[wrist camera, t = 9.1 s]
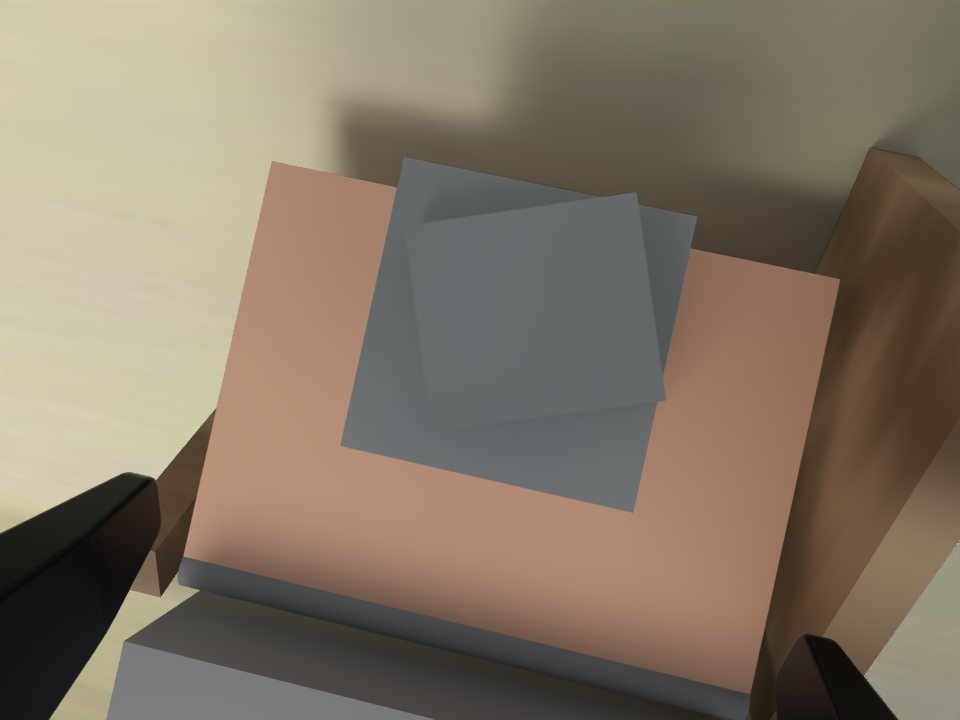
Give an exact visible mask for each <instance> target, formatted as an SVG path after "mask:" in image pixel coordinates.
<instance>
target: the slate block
mask: <svg viewBox="0 0 960 720" xmlns="http://www.w3.org/2000/svg"><path fill="white" fill-rule="evenodd" d="M697 217H698V216H694V215H689V214H684V213H679V212H674V211H669V210H664V209H659V208H655V207H650V206H645V205H640V204H638V197H637V192H633V193H626V194H619V195H612V196H605V197H600V196H595V195H590V194H585V193H581V192H576V191H571V190H566V189H561V188H556V187H551V186H546V185H541V184H536V183H531V182H526V181H521V180H516V179H511V178H507V177H502V176H497V175H492V174H487V173H482V172H477V171H472V170H467V169H462V168H457V167H452V166H447V165H442V164H437V163H433V162H428V161H423V160H418V159H413V158H408V157H404V158H403V163H402V167H401V172H400V177H399V181H398V186H397V190H396V195H395V199H394V204H393V208H392V213H391V217H390V222H389V226H388V231H387V235H386V240H385V245H384V249H383V254H382V258H381V263H380V267H379V272H378V276H377V281H376V285H375V290H374V294H373V299H372V303H371V308H370V312H369V317H368V322H367V326H366V331H365V335H364V340H363V344H362V349H361V353H360V358H359V362H358V367H357V371H356V376H355V380H354V385H353V390H352V394H351V399H350V403H349V408H348V412H347V417H346V421H345V426H344V430H343V435H342V439H341V444H340V446H342V447H347V448H351V449H355V450H360V451H364V452H369V453H373V454H377V455H382V456H386V457H390V458H395V459H399V460H404V461H408V462H412V463H417V464H421V465H425V466H430V467H434V468H439V469H443V470H447V471H452V472H456V473H460V474H465V475H469V476H474V477H478V478H482V479H487V480H491V481H495V482H500V483H504V484H509V485H513V486H517V487H522V488H526V489H530V490H535V491H539V492H544V493H548V494H552V495H557V496H561V497H566V498H570V499H574V500H579V501H583V502H587V503H592V504H596V505H601V506H605V507H609V508H614V509H618V510H622V511H627V512H631V513H633V512H634V508H635V503H636V498H637V494H638V489H639V485H640V480H641V475H642V471H643V466H644V462H645V457H646V452H647V448H648V443H649V438H650V434H651V429H652V425H653V420H654V415H655V411H656V406H657V402H658V401H666V396H665V388H664V381H663V374H664V369H665V365H666V360H667V355H668V351H669V346H670V342H671V337H672V332H673V328H674V323H675V319H676V314H677V309H678V305H679V300H680V295H681V291H682V286H683V282H684V277H685V272H686V268H687V263H688V259H689V254H690V249H691V245H692V240H693V235H694V231H695V226H696V222H697Z"/></svg>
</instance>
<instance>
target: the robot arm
mask: <svg viewBox="0 0 960 720" xmlns="http://www.w3.org/2000/svg"><path fill="white" fill-rule="evenodd" d="M161 522H162V517H161V508H160V499H159V489H158V484H157V482H156V480H155V479H154V478H152V477H149V476H145V475H141V474H137V473H132V472H126V473H122V474H120V475H118V476H116V477H114V478H112V479H110V480H108V481H106V482H104V483H102V484H100V485H98V486H96V487H93V488H91V489H89V490H87V491H85V492H83V493H81V494H79V495H77V496H75V497H73V498H71V499H69V500H67V501H65V502H63V503H61V504H59V505H57V506H55V507H53V508H51V509H49V510H47V511H45V512H43V513H41V514H39V515H37V516H35V517H32V518H30V519H28V520H26V521H24V522H22V523H20V524H18V525H16V526H14V527H12V528H10V529H8V530H6V531H4V532H2V533H0V720H49V719H50V717H51V716H52V714H53V713H54V711H55V710H56V708H57V707H58V706H59V704H60V703H61V701H62V700H63V698H64V697H65V695H66V694H67V692H68V691H69V689H70V688H71V686H72V685H73V683H74V682H75V680H76V679H77V677H78V676H79V674H80V673H81V671H82V670H83V668H84V667H85V665H86V664H87V662H88V661H89V659H90V658H91V656H92V655H93V653H94V652H95V650H96V649H97V647H98V645H99V644H100V642H101V641H102V639H103V638H104V636H105V634H106V633H107V631H108V629H109V627H110V626H111V624H112V622H113V620H114V619H115V617H116V615H117V613H118V611H119V609H120V607H121V605H122V603H123V601H124V600H125V598H126V596H127V594H128V592H129V590H130V588H131V586H132V584H133V582H134V580H135V579H136V577H137V575H138V573H139V571H140V569H141V567H142V565H143V563H144V561H145V560H146V558H147V556H148V554H149V552H150V550H151V548H152V546H153V544H154V542H155V540H156V539H157V536H158V534H159V531H160V528H161ZM775 690H776V716H777V720H898V719H897V717H896V716H895V715H894V714H893V712H892V711H891V710H890V709H889V707H888V706H887V705H886V704H885V702H884V701H883V700H882V698H881V697H880V696H879V695H878V693H877V692H876V691H875V690H874V688H873V687H872V686H871V685H870V683H869V682H868V681H867V679H866V678H865V677H864V676H863V674H862V673H861V672H860V671H859V669H858V668H857V667H856V666H855V664H854V663H853V662H852V660H851V659H850V658H849V657H848V655H847V654H846V653H845V652H844V650H843V649H842V648H841V647H840V645H839V644H838V643H837V642H835V641H834V640H832V639H830V638H826V637H822V636H818V635H813V634H809V633H803V634H801V635H800V636H799V637H798V638H797V639H796V641H795V643H794V644H793V646H792V648H791V649H790V651H789V653H788V654H787V656H786V658H785V659H784V661H783V663H782V664H781V666H780V668H779V670H778V673H777V677H776V684H775Z"/></svg>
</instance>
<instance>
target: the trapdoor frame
mask: <svg viewBox="0 0 960 720" xmlns="http://www.w3.org/2000/svg"><path fill="white" fill-rule="evenodd" d="M815 274H817V275H822V276H827V277H832V278H837V279H840V283H839V288H838V292H837V297H836V301H835V306H834V311H833V315H832V320H831V325H830V329H829V334H828V338H827V343H826V348H825V352H824V357H823V361H822V366H821V371H820V375H819V380H818V384H817V389H816V394H815V398H814V403H813V408H812V412H811V417H810V421H809V426H808V431H807V435H806V440H805V444H804V449H803V454H802V458H801V463H800V467H799V472H798V477H797V481H796V486H795V491H794V495H793V500H792V504H791V509H790V514H789V518H788V523H787V527H786V532H785V537H784V541H783V546H782V550H781V555H780V560H779V564H778V569H777V573H776V578H775V583H774V587H773V592H772V597H771V601H770V606H769V610H768V615H767V620H766V624H765V629H764V633H763V638H762V643H761V647H760V652H759V656H758V661H757V666H756V670H755V675H754V680H753V684H752V689H751V693H750V706H749V711H748V714H747V717H746V719H745V720H777V716H776V690H775V684H776V677H777V673H778V670H779V668H780V666H781V664H782V663H783V661H784V659H785V658H786V656H787V654H788V653H789V651H790V649H791V648H792V646H793V644H794V643H795V641H796V639H797V638H798V637H799V636H800V635H801V634H803V633H809V634H813V635H818V636H822V637H826V638H830V639H832V640H834V641H835V642H837V643H838V644H839V645H840V647H841V648H842V649H843V650H844V652H845V653H846V654H847V655H848V657H849V658H850V659H851V660H852V662H853V663H854V664H855V666H856V667H857V668H858V669H859V671H860V672H861V673H862V674H863V676H864V675H865V673H866V672H867V670H868V669H869V667H870V666H871V665H872V663H873V662H874V660H875V659H876V657H877V656H878V655H879V653H880V652H881V650H882V649H883V648H884V646H885V645H886V643H887V642H888V640H889V639H890V638H891V636H892V635H893V633H894V632H895V631H896V629H897V628H898V626H899V625H900V623H901V622H902V621H903V619H904V618H905V616H906V615H907V613H908V612H909V611H910V609H911V608H912V606H913V605H914V604H915V602H916V601H917V599H918V598H919V596H920V595H921V594H922V592H923V591H924V589H925V588H926V586H927V585H928V584H929V582H930V581H931V579H932V578H933V577H934V575H935V574H936V572H937V571H938V569H939V568H940V567H941V565H942V564H943V562H944V561H945V560H946V558H947V557H948V555H949V554H950V552H951V551H952V550H953V548H954V547H955V545H956V544H957V542H958V541H959V540H960V190H959V189H958V188H956V187H955V186H954V185H953V184H952V183H950V182H949V181H948V180H947V179H945V178H944V177H943V176H942V175H940V174H939V173H938V172H937V171H935V170H934V169H933V168H932V167H930V166H929V165H928V164H927V163H925V162H924V161H923V160H922V159H921V158H919V157H914V156H908V155H903V154H898V153H893V152H888V151H883V150H878V149H873V148H870V149H869V152H868V154H867V156H866V159H865V161H864V163H863V165H862V168H861V170H860V172H859V175H858V177H857V179H856V181H855V184H854V186H853V188H852V191H851V193H850V195H849V197H848V200H847V202H846V204H845V207H844V209H843V211H842V213H841V216H840V218H839V220H838V223H837V225H836V227H835V229H834V232H833V234H832V236H831V239H830V241H829V243H828V245H827V248H826V250H825V252H824V255H823V257H822V259H821V261H820V264H819V266H818V268H817V270H816V273H815ZM216 409H217V408H216ZM216 409H215V410H214V411H213V412H212V414H211V415H210V416H209V417H208V419H207V420H206V421H205V422H204V423H203V425H202V426H201V427H200V428H199V429H198V431H197V432H196V433H195V434H194V435H193V437H192V438H191V439H190V440H189V441H188V443H187V444H186V445H185V446H184V447H183V449H182V450H181V451H180V452H179V453H178V455H177V456H176V457H175V458H174V459H173V461H172V462H171V463H170V464H169V465H168V467H167V468H166V469H165V470H164V471H163V473H162V474H161V475H160V476H159V477H158V479H157V480H156V482H157V484H158V489H159V499H160V508H161V517H162V522H161V528H160V531H159V534H158V536H157V539H156V540H155V542H154V544H153V546H152V548H151V550H150V552H149V554H148V556H147V558H146V560H145V561H144V563H143V565H142V567H141V569H140V571H139V573H138V575H137V577H136V579H135V580H134V582H133V584H132V586H131V588H130V590H133V591H137V592H141V593H145V594H149V595H153V596H157V597H161V596H162V594H163V593H164V591H165V590H166V589H167V587H168V586H169V584H170V583H171V581H172V580H173V578H174V577H175V575H176V574H177V572H178V571H179V567H180V563H181V561H182V558H183V556H184V551H185V547H186V543H187V538H188V534H189V529H190V525H191V520H192V516H193V511H194V507H195V502H196V498H197V493H198V489H199V485H200V480H201V476H202V471H203V467H204V462H205V458H206V453H207V449H208V444H209V440H210V435H211V431H212V427H213V422H214V418H215V413H216ZM720 720H728V719H723V718H720Z"/></svg>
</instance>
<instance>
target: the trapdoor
mask: <svg viewBox="0 0 960 720" xmlns="http://www.w3.org/2000/svg"><path fill="white" fill-rule="evenodd" d="M396 190H397V187H393V186H388V185H384V184H379V183H374V182H369V181H364V180H359V179H355V178H350V177H345V176H340V175H335V174H331V173H326V172H321V171H316V170H311V169H306V168H302V167H297V166H292V165H287V164H282V163H278V162H273V161H272V163H271V168H270V172H269V177H268V181H267V186H266V190H265V194H264V199H263V203H262V208H261V212H260V217H259V221H258V226H257V230H256V235H255V239H254V244H253V248H252V252H251V257H250V261H249V266H248V270H247V275H246V279H245V284H244V288H243V293H242V297H241V302H240V306H239V310H238V315H237V319H236V324H235V328H234V333H233V337H232V342H231V346H230V351H229V355H228V360H227V364H226V368H225V373H224V377H223V382H222V386H221V391H220V395H219V400H218V404H217V409H216V413H215V418H214V422H213V427H212V431H211V435H210V440H209V444H208V449H207V453H206V458H205V462H204V467H203V471H202V476H201V480H200V485H199V489H198V493H197V498H196V502H195V507H194V511H193V516H192V520H191V525H190V529H189V534H188V538H187V543H186V547H185V551H184V556H183V558H182V561H181V563H180V567H179V571H178V583H179V585H182V586H186V587H190V588H194V589H198V590H200V591H199V592H197V593H196V594H194V595H193V596H191V597H190V598H188V599H187V600H185V601H184V602H182V603H181V604H179V605H178V606H176V607H175V608H173V609H172V610H170V611H169V612H167V613H166V614H164V615H163V616H161V617H160V618H158V619H157V620H155V621H154V622H152V623H151V624H149V625H148V626H146V627H145V628H143V629H142V630H140V631H139V632H137V633H136V634H134V635H133V636H131V637H130V638H128V639H127V640H125V641H124V644H123V648H122V653H121V657H120V661H119V666H118V670H117V675H116V679H115V684H114V688H113V693H112V697H111V702H110V706H109V710H108V715H107V719H106V720H720V718H723V719H728V720H745V719H746V717H747V714H748V711H749V706H750V693H751V689H752V684H753V680H754V675H755V670H756V666H757V661H758V656H759V652H760V647H761V643H762V638H763V633H764V629H765V624H766V620H767V615H768V610H769V606H770V601H771V597H772V592H773V587H774V583H775V578H776V573H777V569H778V564H779V560H780V555H781V550H782V546H783V541H784V537H785V532H786V527H787V523H788V518H789V514H790V509H791V504H792V500H793V495H794V491H795V486H796V481H797V477H798V472H799V467H800V463H801V458H802V454H803V449H804V444H805V440H806V435H807V431H808V426H809V421H810V417H811V412H812V408H813V403H814V398H815V394H816V389H817V384H818V380H819V375H820V371H821V366H822V361H823V357H824V352H825V348H826V343H827V338H828V334H829V329H830V325H831V320H832V315H833V311H834V306H835V301H836V297H837V292H838V288H839V283H840V279H837V278H832V277H827V276H822V275H817V274H813V273H808V272H803V271H798V270H793V269H789V268H784V267H779V266H774V265H769V264H764V263H760V262H755V261H750V260H745V259H740V258H736V257H731V256H726V255H721V254H716V253H711V252H707V251H702V250H697V249H692V248H691V249H690V254H689V259H688V263H687V268H686V272H685V277H684V282H683V286H682V291H681V295H680V300H679V305H678V309H677V314H676V319H675V323H674V328H673V332H672V337H671V342H670V346H669V351H668V355H667V360H666V365H665V369H664V374H663V381H664V388H665V396H666V401H658V402H657V406H656V411H655V415H654V420H653V425H652V429H651V434H650V438H649V443H648V448H647V452H646V457H645V462H644V466H643V471H642V475H641V480H640V485H639V489H638V494H637V498H636V503H635V508H634V512H633V513H631V512H627V511H622V510H618V509H614V508H609V507H605V506H601V505H596V504H592V503H587V502H583V501H579V500H574V499H570V498H566V497H561V496H557V495H552V494H548V493H544V492H539V491H535V490H530V489H526V488H522V487H517V486H513V485H509V484H504V483H500V482H495V481H491V480H487V479H482V478H478V477H474V476H469V475H465V474H460V473H456V472H452V471H447V470H443V469H439V468H434V467H430V466H425V465H421V464H417V463H412V462H408V461H404V460H399V459H395V458H390V457H386V456H382V455H377V454H373V453H369V452H364V451H360V450H355V449H351V448H347V447H342V446H340V444H341V439H342V435H343V430H344V426H345V421H346V417H347V412H348V408H349V403H350V399H351V394H352V390H353V385H354V380H355V376H356V371H357V367H358V362H359V358H360V353H361V349H362V344H363V340H364V335H365V331H366V326H367V322H368V317H369V312H370V308H371V303H372V299H373V294H374V290H375V285H376V281H377V276H378V272H379V267H380V263H381V258H382V254H383V249H384V245H385V240H386V235H387V231H388V226H389V222H390V217H391V213H392V208H393V204H394V199H395V195H396Z"/></svg>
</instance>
